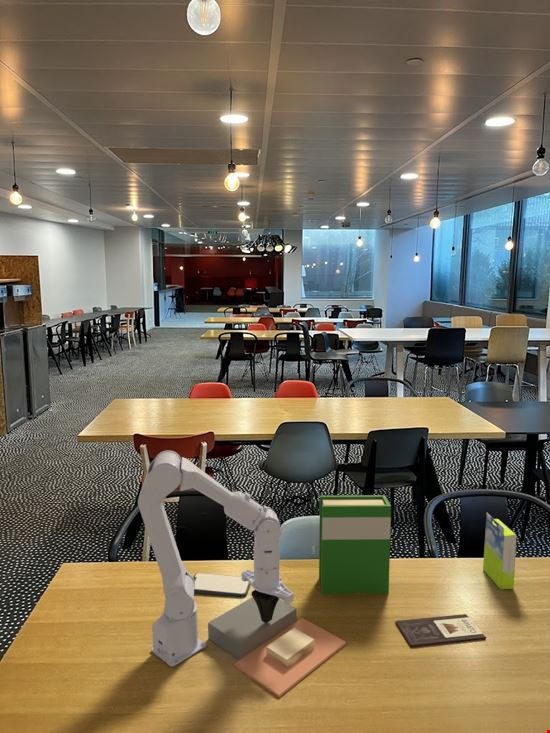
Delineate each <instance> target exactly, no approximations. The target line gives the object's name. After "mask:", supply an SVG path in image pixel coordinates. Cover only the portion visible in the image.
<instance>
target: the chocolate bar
mask: <svg viewBox="0 0 550 733" xmlns="http://www.w3.org/2000/svg"><path fill="white" fill-rule="evenodd" d="M395 624H396V626H397V628H398V630H399V631H400V633H401V634H402V636H403V638H404V639H405V641H406V643H407V644H408V646H409V647H410V648H419V647H428V646H429V647H430V646H436V645H437V646H438V645H447V644H457V643H466V641H467V642H474V641H483V640H485V641H486V639H487V638H486V636H485V634H484V633H483V632H482V631H481V630H480V628H478V626H477V625H476V624H475V622H473V620H472V619H471V618H470V617H469V616H468V614H467V613H464V614H455V615H454V614H453V615H452V614H451V615H444V616H443V615H442V616H433V617H422V618H412V619H402V620H395Z"/></svg>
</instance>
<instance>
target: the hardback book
mask: <svg viewBox="0 0 550 733" xmlns="http://www.w3.org/2000/svg"><path fill="white" fill-rule="evenodd" d="M391 521H392V505H391V503H390V502H389V499H388V498H387V496H386V495H385V494H383V495H381V494H377V495H376V494H374V495H372V494H371V495H370V494H369V495H363V494H362V495H360V494H359V495H355V494H354V495H353V494H352V495H351V494H350V495H346V494H345V495H342V494H341V495H319V528H318V529H319V531H318V532H319V536H318V537H319V540H318V543H319V544H318V546H319V547H318V550H319V551H318V581H321V582H320V583H321V584H320V585H321V587H320V589H321V590H320V591H321V592H320V593H321V594H322V595H326V594H327V595H329V594H330V595H333V594H334V595H336V594H337V595H340V594H341V595H342V594H344V595H345V594H347V595H352V594H354V595H355V594H356V593H357V595H358V594H359V593H360V594H361V593H362V594H363V595H364V593H365V594H389V592H390V590H389V589H390V561H391V560H390V559H391V558H390V557H391V529H392V528H391V525H392V524H391Z"/></svg>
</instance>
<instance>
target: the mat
mask: <svg viewBox="0 0 550 733" xmlns="http://www.w3.org/2000/svg"><path fill="white" fill-rule="evenodd" d="M293 628H295V629H297V630H299V631H300V632H302V633H304V634H306V635H307V636H309V637H311V638H313V639H314V640H315V641H314V649H312V650H311V651H310V652H308V653H307V654H306V655H304V656H303V657H302V658H300V659H299V660H298V661H296V662H295V663H294V664H292V665H291V666H290V667H288V668H285V667H284V666H282V665H281V664H279V663H278V662H276V661H275V660H273V659H272V658H270V657H268V656H267V655H266V647H267V646H268V645H270V644H271V643H273V642H274V641H275V640H277V639H278V638H280V637H281V636H283V635H284V634H286V633H287V632H289V631H290V630H292V629H293ZM346 645H347V641H346V640H344V639H342V638H340V637H338V636H336V635H335V634H333V633H330V632H329V631H327V630H325V629H323V628H321V627H320V626H318V625H316V624H314V623H313V622H311V621H309V620H307V619H305V618H303V617H301V618H300V619H299V620H297V622H295V623H294V624H292V625H291V626H289V627H288V628H286V629H285V630H283V631H282V632H280V633H279V634H277V635H276V636H274V637H273V638H271V639H270V640H268V641H267V642H266V643H264V644H263V645H261V646H260V647H258V648H257V649H255V650H254V651H252V652H251V653H249V654H248V655H246V656H245V657H243V658H242V659H240V660H237V661H236V662H234V664H233V665H234V667H235V668H236V669H237V670H239V671H241V672H242V673H244V674H245V675H246V676H248V677H249V678H251V680H253V681H255V682H256V683H257V684H259V685H260V686H262V687H263V688H264V689H266V690H268V691H269V692H270V693H272V694H273V695H275V697H278V698H281V697H282V696H283V695H285V694H286V693H287V692H288V691H290V690H291V689H292V688H294V686H296V685H298V684H299V682H301V681H302V680H303V679H304V678H306V677H307V676H309V674H311V673H312V672H313V671H315V670H316V669H317V668H318V667H319V666H321V665H322V664H323V663H324V662H326V661H327V660H328V659H330V658H331V657H332V656H333V655H335V654H336V653H337V652H339V650H341V649H342V648H343V647H345V646H346Z"/></svg>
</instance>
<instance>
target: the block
mask: <svg viewBox="0 0 550 733" xmlns="http://www.w3.org/2000/svg"><path fill="white" fill-rule="evenodd" d="M297 610H298V609H297V608H296V606H293V605H292V604H291V603H290V604H288V605H287V604H285V601H284V600H282V599H280V598H279V600H278V602H277V604H276V607H275V610H274V613H273V617H272V620H271V621H269V622H268V623H264V622H263V621H262V620H261V616H260V613H259V609H258V606H257V604H256V602H255V600H254V598H253V597H252V596H251V597H250V598H248V599H246V600H245V601H244V602H242V603H240V604H238V605H236V606H234V607H233V608H231V609H230V610H228V611H226V612H224V613H222V614H221V615H219V616H217V617H216V618H213V619H212V620H210V621H209V622H207V629H208V631H207V635H208V636H207V638H208V640H210V641H211V642H212V643H214V644H215V645H216V646H218V647H220V648H221V649H222V648H223V649H222V650H224V651H225V650H226V651H225V652H227V653H228V654H230V655H231V656H233V657H235V659H237V661H239V660H240V659H242V658H243V657H245V656H246V655H248V654H249V653H251V652H252V651H254V650H255V649H257V648H258V647H260V646H261V645H263V644H264V643H266V642H267V641H268V640H270V639H271V638H273V637H274V636H276V635H277V634H279V633H280V632H282V631H283V630H285V629H286V628H288V627H289V626H291V625H292V624H294V623H295V622H297V621H298V620H297V618H298V616H297V615H298V613H297V612H298V611H297Z"/></svg>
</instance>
